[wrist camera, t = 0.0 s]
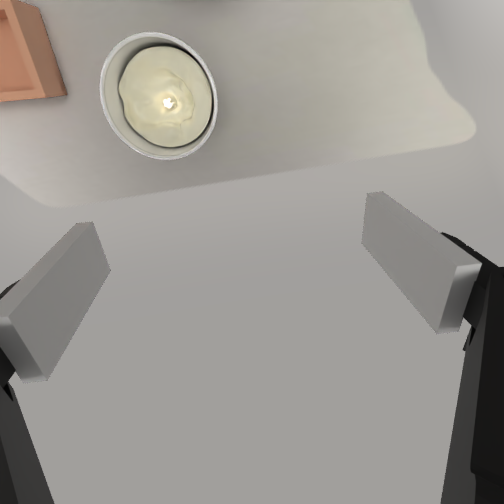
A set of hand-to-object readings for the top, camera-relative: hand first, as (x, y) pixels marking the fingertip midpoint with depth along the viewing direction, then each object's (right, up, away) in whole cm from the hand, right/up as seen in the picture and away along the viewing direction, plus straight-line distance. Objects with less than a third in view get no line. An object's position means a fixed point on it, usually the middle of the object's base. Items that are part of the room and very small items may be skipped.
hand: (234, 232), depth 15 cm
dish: (-26, +20, +18) cm, 38 cm away
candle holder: (-8, +18, +22) cm, 29 cm away
